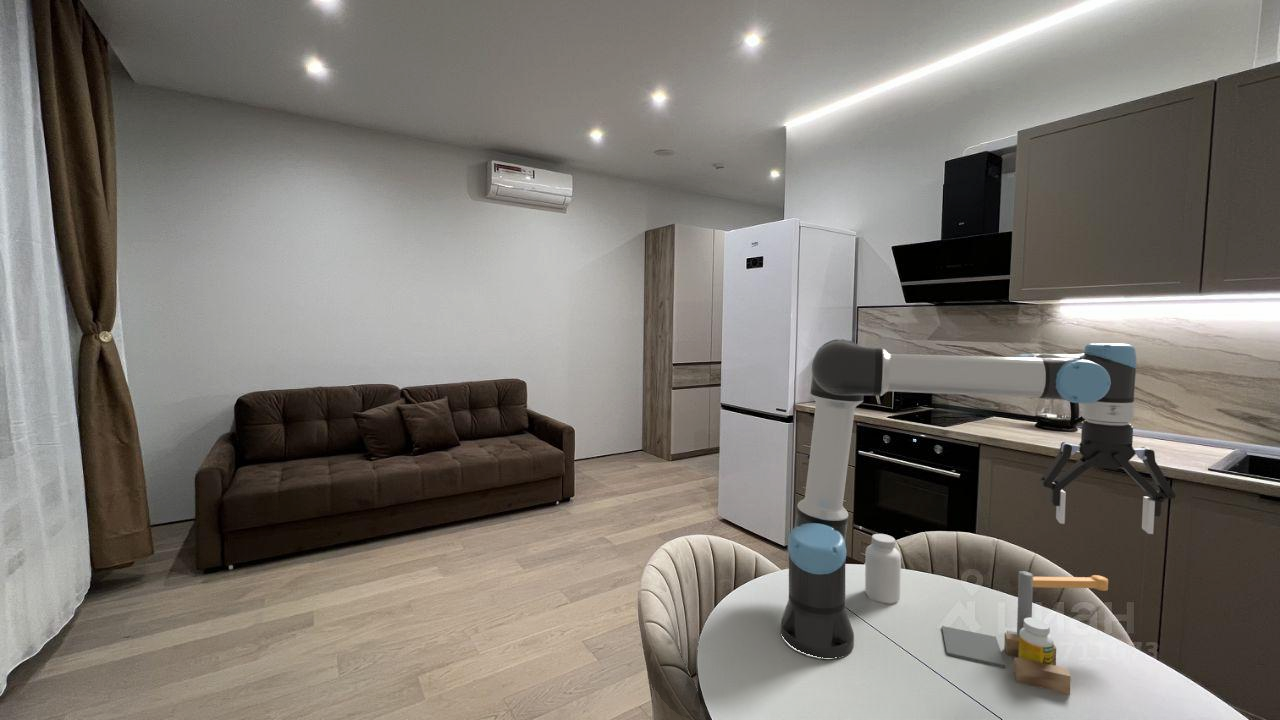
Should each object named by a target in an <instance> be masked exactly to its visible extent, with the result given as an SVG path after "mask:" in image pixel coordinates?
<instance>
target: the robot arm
mask: <svg viewBox="0 0 1280 720" xmlns="http://www.w3.org/2000/svg"><path fill="white" fill-rule="evenodd" d="M1136 353H1137V351H1136V348H1135V347H1134V346H1133V345H1131V344H1130V343H1129V344H1128V343H1110V342H1109V343H1105V342H1103V343H1102V342H1101V343H1088V344H1086V345H1085V346H1084V349H1083V353H1074V354H1073V353H1070V354H1069V353H1034V352H1032V353H1026V354H1025V353H1022V354H1021V353H1020V354H1017V355H1015V356H989V355H988V356H986V355H985V356H984V355H983V356H981V355H980V356H979V355H954V354H953V355H949V354H948V355H946V354H945V355H943V354H916V353H915V354H910V353H908V354H907V353H889V352H888V351H887V350H886V349H885V348H881V347H880V348H879V347H878V348H876V347H874V348H873V347H866V346H865V347H864V346H860V345H859V344H858V343H856V342H854V341H852V340H848V339H847V340H846V339H844V338H843V339H837V338H836V339H832V340H829V341H827V342H824V344H822V345H821V346H820V347H819V348H818V349H817V351H816V352H815V355H814V356H813V360H812V364H811V373H812V375H811V376H812V377H811V385H810V392H809V393H810V394H809V395H810V396H811V397H812V399H813V400H814V401H815V407H814V409H815V410H814V417H813V426H812V433H811V441H810V450H809V451H810V452H809V460H808V466H807V467H808V469H807V477H806V484H805V485H806V486H805V494H804V498H803V499H801V500H800V501H799V502H798V503H797V507H796V513H795V515H796V516H795V523H794V528H793V529H792V530H791V531H790V533H789V536H788V541H787V551H788V600H787V603H786V605H785V608H784V612H783V614H782V617H781V620H780V635H781V634H782V636H783V637H784V639H785V640H786V641H787V642H788V643H789V644H790V645H791V646H793V647H794V648H796V649H797V650H800V651H801V652H804V653H806V654H810V655H813V656H817V657H821V658H822V657H823V658H835V657H837V658H838V659H840V658H839V657H842V656H844V657H846V656H848V655H849V654H850V653H852V652H853V650H854V646H855V635H854V634H855V633H854V630H853V627H852V623H851V621H850V617H849V615H848V611H847V609H846V558H847V546H846V538H847V537H846V536H847V529H848V520H849V512H848V511H847V509H846V508H845V507H844V506H843V505H844V498H845V489H846V482H847V481H846V480H847V474H848V467H849V466H848V465H849V458H850V450H851V442H852V436H853V426H854V418H855V411H856V410H855V409H856V408H857V406H859V405H861V404H862V403H863V402H864V396H879V397H882V396H883V395H885V394H886V393H887V392H897V393H898V392H899V393H917V394H918V393H919V394H920V393H921V394H922V393H923V394H945V395H947V394H948V395H967V396H968V395H969V396H984V397H987V396H989V397H1008V398H1026V399H1027V398H1028V399H1029V398H1031V399H1041V400H1042V399H1044V400H1059V401H1061V400H1062V401H1066V402H1070V403H1074V404H1082V406H1081V407H1082V411H1081V417H1082V419H1084V420H1083V421H1081V431H1080V432H1081V437H1080V440H1081V441H1080V443H1079V444H1074V443H1073V444H1072V443H1068V442H1066V441H1063V442H1061V444H1060V447H1059V452H1058V454H1057V455H1056V456H1055V458H1054V459H1053V461H1052V462H1051V463H1050V465H1049V467H1048V468H1047V469H1046V471H1045V472H1044V473H1043V475H1042V476H1041V478H1040V480H1039V482H1040V484H1041V485H1042V486H1043V487H1045V488H1048V489H1050V503H1051V504H1052V505H1053V506H1055V507H1056V509H1055V520H1057V522H1058V523H1059V524H1062V525H1065V522H1066V502H1067V501H1066V499H1067V495H1066V494H1067V493H1066V491H1064V490H1063V489H1064V488H1066V487H1067V486H1068V485H1069V484H1070V483H1072V482H1073V481H1074V480H1076V479H1077V478H1078V477H1079V476H1081V475H1082V474H1083V473H1084V472H1085V471H1087V470H1091V468H1092V467H1094V468H1096V469H1101V470H1102V469H1110V470H1113V471H1114V470H1119V469H1122V470H1124V472H1125V473H1126V474H1128V476H1130V478H1132V480H1133V481H1134V482H1135V483H1136V484H1137V485H1138V486H1139V487H1141V489H1142V490H1143V491H1144V492H1146V494H1147V495H1148V496H1143V497H1142V516H1141V529H1142V530H1143V531H1144V532H1145V533H1147V534H1148V535H1154V527H1155V526H1154V525H1155V517H1160V516H1161V514H1162V513H1161V511H1162V503H1163V502H1165V500H1166V499H1167V500H1168V499H1171V500H1173V499H1175V498H1176V493H1175V491H1174V490H1173V489H1172V487H1171V485H1170V483H1169V482H1168V480H1167V478H1166V477H1165V475H1164V473H1163V472H1162V470H1161V468H1160V467H1159V464H1158V463H1157V461H1156V455H1155V454H1156V453H1155V451H1154V450H1153V449H1151V448H1149V447H1148V446H1142V447H1141V448H1134V447H1133V443H1134V442H1133V441H1134V439H1133V437H1134V426H1133V425H1132V424H1131V423H1133V422H1134V415H1135V414H1134V412H1135V388H1136V387H1135V385H1136V378H1137V377H1136V375H1137V374H1136V373H1137V370H1138V366H1137V354H1136ZM1076 452H1079V453H1080V454H1081V455H1082V456H1081V457H1079V458H1078V459H1077V460H1076V462H1075V463H1074V464H1072V465H1071V466H1070V467H1069V468H1068V469H1067V470H1065V471H1064V472H1063V473H1062V474H1061V475H1059V474H1060V473H1061V471H1062V470H1063V468H1064V467H1065V465H1066V464H1067V463H1068V462H1069V460H1070V458H1071V456H1073V455H1075V454H1076ZM1135 456H1137V458H1138V459H1140V460H1141V461H1142V463H1143V465H1144V466H1145V468H1146V469H1147V471H1148V472H1149V474H1150V476H1151V478H1152V480H1153V481H1154V483H1155V485H1156V486H1157V488H1158V489H1159V490H1156V489H1155V488H1154V487H1153V486H1152V485H1151V484H1150V482H1148V480H1147V479H1145V478H1144V476H1142V475H1141V474H1140V472H1138V471H1137V469H1136V468H1135V466H1133V465H1132V464H1131V463H1130V462H1129V461H1130V460H1131V459H1133V458H1134V457H1135ZM1058 475H1059V476H1058ZM782 636H781V637H782ZM845 655H846V656H845ZM842 658H843V657H842Z"/></svg>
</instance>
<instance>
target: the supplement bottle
mask: <svg viewBox="0 0 1280 720" xmlns="http://www.w3.org/2000/svg"><path fill="white" fill-rule="evenodd" d="M1023 626H1024V627H1023V628H1021V629H1020V631H1019V654H1018V657H1017V658H1021V659H1026V660H1031V661H1035V662H1040V663H1045V664H1049V665H1053V646H1054V645H1055V644H1054V639H1053V637H1052V636H1051V635H1050V633H1051V632H1050V631H1051V630H1050V629H1051V628H1050V625H1049V623H1047V622H1045V621H1044V620H1042V619H1039V618H1034V617H1032V618H1025V619H1024V624H1023Z"/></svg>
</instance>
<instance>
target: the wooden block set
mask: <svg viewBox="0 0 1280 720" xmlns="http://www.w3.org/2000/svg"><path fill="white" fill-rule="evenodd" d="M1003 646H1004V651H1005V654H1006V656H1008V657H1014V658H1013V677H1014V680H1015V682H1016V683H1019V684H1023V685H1028V686H1030V687H1031V686H1032V687H1036V688H1040V689H1045V690H1048V691H1053V692H1058V693H1061V694H1065V695H1071V682H1072V681H1071V680H1072V678H1071V677H1072V676H1071V674H1070V672H1069V670H1068V668H1067V667H1063V666H1058V665H1057V646H1056V645H1055V644H1054V646H1053V665H1049V664H1045V663H1040V662H1035V661H1031V660H1026V659H1021V658H1018V654H1019V635H1017V631H1013V630H1008V629H1007V630H1006V632H1005V631H1004V645H1003Z"/></svg>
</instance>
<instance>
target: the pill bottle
mask: <svg viewBox="0 0 1280 720" xmlns="http://www.w3.org/2000/svg"><path fill="white" fill-rule="evenodd" d="M901 559H902V555H901V553H900V551H899V550H898V549H897V548H896V539H895V538H894V537H893V536H891V535H888V534H884V533H875V534H872V536H871V543H870V545H868V546H867V547H866V549H865V560H864V561H865V571H864V572H865V573H864V574H865V575H864V576H865V578H864V579H865V582H864V583H865V585H864V586H865V588H864V589H865V595H866V596H867V597H868V598H870V599H871V600H873V601H875V602H878V603H882V604H896V603H898V602H899V601H900V599H901V581H902V580H901V576H902V575H901V572H902V571H901V570H902V567H901V564H902V563H901V562H902V560H901Z"/></svg>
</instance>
